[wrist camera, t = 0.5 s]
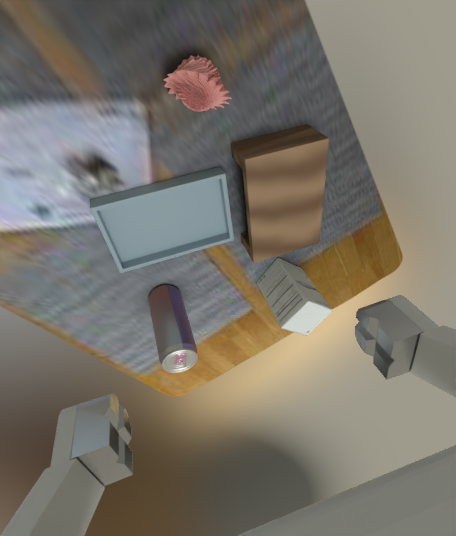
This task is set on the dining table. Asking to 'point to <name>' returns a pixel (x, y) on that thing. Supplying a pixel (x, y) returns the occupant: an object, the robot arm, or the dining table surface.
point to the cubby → (282, 190)
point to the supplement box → (293, 297)
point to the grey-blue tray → (165, 218)
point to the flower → (197, 84)
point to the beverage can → (172, 330)
